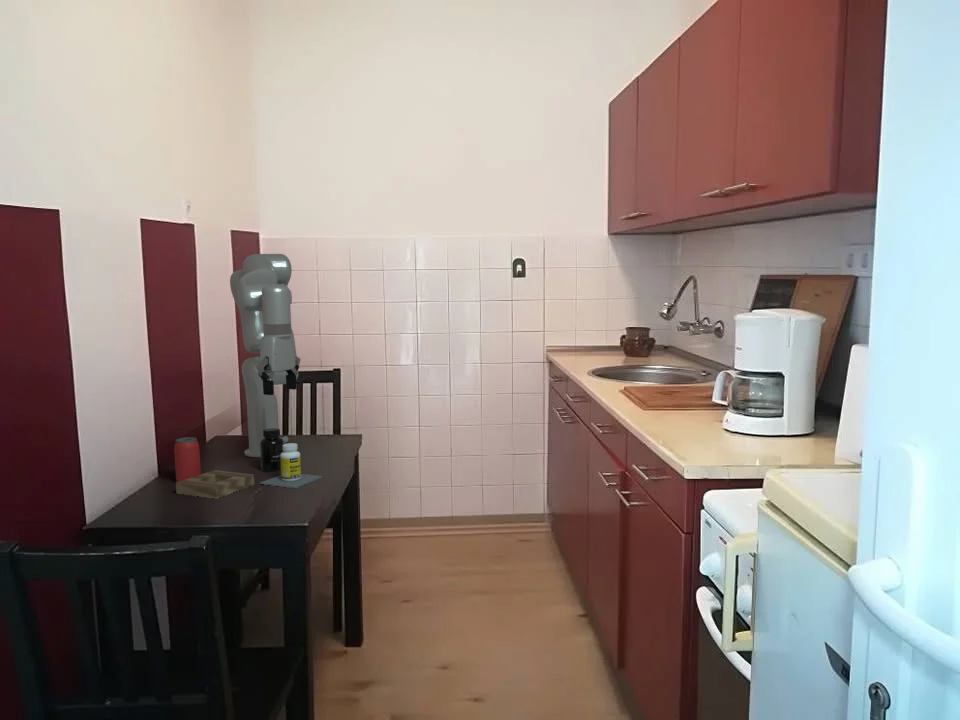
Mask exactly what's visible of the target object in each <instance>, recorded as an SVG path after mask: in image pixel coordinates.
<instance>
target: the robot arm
mask: <svg viewBox="0 0 960 720" xmlns="http://www.w3.org/2000/svg"><path fill="white" fill-rule="evenodd" d="M292 267H293V266H292V263H291V260H290V259H289V257H288V256H286V255H285V254H283V253H254V254H253V253H252V254H251V255H248V256H247V257H246V258H244V261H243V263H242V269H239V270H235V271H234V272H232V273H231V275H230V277H229V284H230V292H231V294H232V298H233V300H234V302H235V304H236V306H237V309H238V311H239V316H240V322H241V330H242V331H241V332H242V341H243V345H244V346H243V347H244V349H245V351H246V352H248V353H250V354H259V356H258V355H257V356H251V357H248V358H246V359H245V360H244V361H243V362H242V365H241V373H242V379H243V384H244V389H245V400H246V414H247V428H248V429H247V432H248V448H247V449H245V450H244V456H246V457H251V458H261V455H260V442H261V440H262V439H263V438H264V436H263V430H265V429H270V428H277V429H280V426H279V409H278V405H279V404H278V398H277V396H276V394H275V386H276V385H286V389H287V390H294V391H295V390H297V384H298V383H297V380H298V379H299V378H298V377H299V369H300V364H301V358H300V357H298V355H297V349H296V347H297V346H296V340H295V334H294V331H293V328H292V312H291V309H292V308H291V305H292V302H293V293H292V289H290V287H288V285H289V282H290V280H291V277H292V271H293V268H292ZM274 385H275V386H274ZM279 437H280V438H282V439H283V441H284V444H286V443H287V442H288V441H289V437H288V436H287V435H285V436H282V437H281V436H279Z"/></svg>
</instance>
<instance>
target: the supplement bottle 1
mask: <svg viewBox="0 0 960 720" xmlns="http://www.w3.org/2000/svg"><path fill="white" fill-rule="evenodd" d="M263 436H264V438H263V439H262V440H261V442H260V455H261V457H260V470H261V471H263V472H267V473H271V472H272V471H273V472H274V471H275V472H279V471H280V472H281V461H280V455H281V453H282V452H284V451H283V445H284V444H285V443H284V441H283V439H282V437H281V430H280V428H279V429H277V428H270V429H265V430H263ZM280 437H281V438H280ZM273 472H272V473H273ZM275 472H274V473H275Z"/></svg>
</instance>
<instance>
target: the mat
mask: <svg viewBox="0 0 960 720" xmlns="http://www.w3.org/2000/svg"><path fill="white" fill-rule="evenodd" d="M322 478H323V475H316V474H314V475H313V474H308V473H307V474H306V473H301V478H300V479H299V480H296V481H283V480H282V479H281V474H279V475H278V476H275V477H274V476H273V477H272V478H269V479H267V480H264V481H260V482H259V485H260V484H264V485H263V486H267V485H271V486H270V487H275V486H279V487H278V488H283V487H286V488H285V489H292V488H294V489H295V488H296V489H298V488H301V487H303V486H305V484H306V485H308V484H311V483H313V482H315V481H318V480H320V479H322ZM300 486H301V487H300Z"/></svg>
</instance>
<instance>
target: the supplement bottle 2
mask: <svg viewBox="0 0 960 720" xmlns="http://www.w3.org/2000/svg"><path fill="white" fill-rule="evenodd" d="M283 451H284V452H282V453H281V455H280V461H281V470H280V475H281V479H282V480H283V481H296V480H299V479H300V478H301V474H302V465H301V462H302V461H301V453H300V452H299V451H298V443H294V442H293V443H292V442H291V443H284V445H283Z"/></svg>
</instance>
